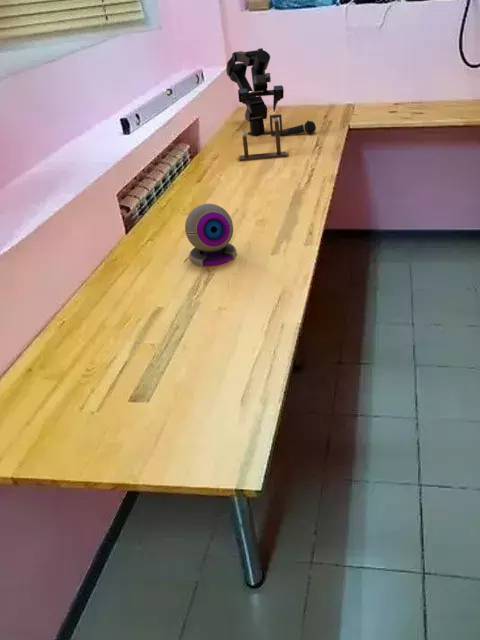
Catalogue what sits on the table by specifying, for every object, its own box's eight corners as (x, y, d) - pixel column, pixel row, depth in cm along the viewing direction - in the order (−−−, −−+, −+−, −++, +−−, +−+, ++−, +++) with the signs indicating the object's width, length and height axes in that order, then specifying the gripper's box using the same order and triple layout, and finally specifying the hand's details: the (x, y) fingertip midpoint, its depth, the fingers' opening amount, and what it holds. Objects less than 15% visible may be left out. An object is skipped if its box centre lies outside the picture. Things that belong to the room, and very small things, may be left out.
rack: (238, 155, 253) (235, 119, 245) (285, 151, 254) (282, 115, 246) (239, 161, 246) (235, 124, 238) (287, 156, 247) (284, 120, 239)
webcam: (197, 270, 166) (188, 217, 157) (184, 253, 176) (176, 202, 167) (242, 260, 170) (236, 207, 161) (228, 243, 180) (221, 193, 171)
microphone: (272, 144, 274) (317, 135, 272) (270, 132, 270) (315, 123, 268) (272, 137, 277) (315, 128, 276) (269, 126, 273) (314, 116, 271)
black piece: (265, 134, 248) (263, 115, 244) (287, 132, 249) (286, 113, 245) (265, 135, 247) (264, 116, 243) (288, 133, 247) (286, 114, 243)
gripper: (235, 67, 250) (239, 102, 246) (281, 64, 251) (285, 98, 248) (237, 85, 260) (240, 118, 257) (281, 81, 261) (285, 114, 258)
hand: (263, 112), depth 255 cm, fingers open, 9 cm apart
